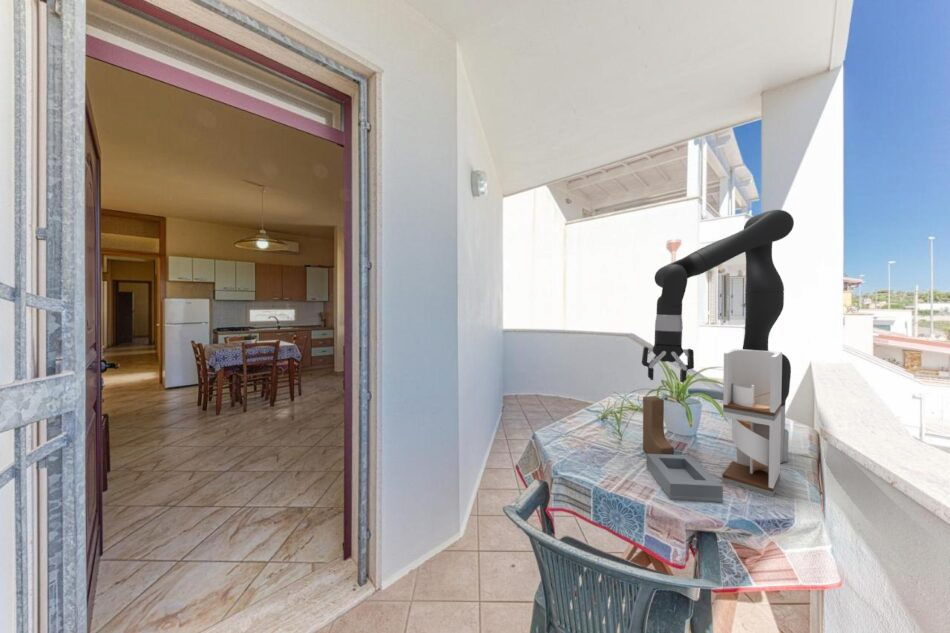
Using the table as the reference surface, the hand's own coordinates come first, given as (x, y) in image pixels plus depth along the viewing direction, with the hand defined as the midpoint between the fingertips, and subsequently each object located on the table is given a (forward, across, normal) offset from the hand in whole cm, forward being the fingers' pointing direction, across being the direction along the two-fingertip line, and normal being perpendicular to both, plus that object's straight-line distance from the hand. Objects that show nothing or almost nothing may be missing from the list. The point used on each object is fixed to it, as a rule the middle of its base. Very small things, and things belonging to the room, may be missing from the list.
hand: (666, 380), depth 113 cm
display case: (+24, -20, +11) cm, 33 cm away
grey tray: (+24, -2, +17) cm, 30 cm away
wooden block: (+24, +2, 0) cm, 24 cm away
